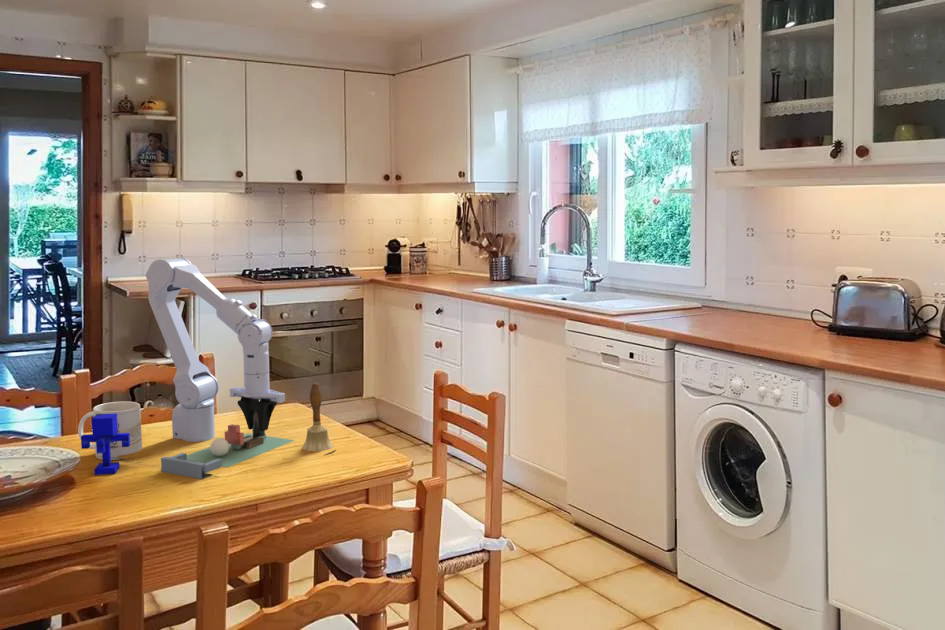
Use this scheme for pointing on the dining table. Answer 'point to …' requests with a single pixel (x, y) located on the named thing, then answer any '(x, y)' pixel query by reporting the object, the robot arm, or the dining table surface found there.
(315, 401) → the hand bell
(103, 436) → the figurine
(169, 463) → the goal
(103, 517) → the dining table surface
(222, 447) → the ball
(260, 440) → the rail guides
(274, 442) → the mat
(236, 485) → the dining table surface
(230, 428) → the kicker rod
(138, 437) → the mug
